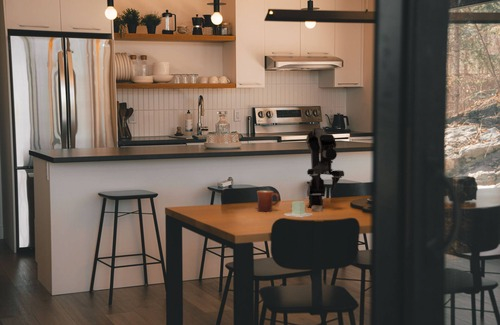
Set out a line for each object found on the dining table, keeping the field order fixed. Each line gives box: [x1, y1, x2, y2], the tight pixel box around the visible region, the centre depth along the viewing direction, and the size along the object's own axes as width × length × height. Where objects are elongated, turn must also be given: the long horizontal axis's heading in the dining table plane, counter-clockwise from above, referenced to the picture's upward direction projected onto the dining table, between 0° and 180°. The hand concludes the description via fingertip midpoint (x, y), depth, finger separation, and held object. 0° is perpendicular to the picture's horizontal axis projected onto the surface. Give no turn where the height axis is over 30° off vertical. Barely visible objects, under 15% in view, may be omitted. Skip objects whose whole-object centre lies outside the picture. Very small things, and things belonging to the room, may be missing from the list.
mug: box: [256, 190, 280, 213], centre depth 363 cm, size 12×9×10 cm
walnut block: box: [311, 205, 324, 213], centre depth 366 cm, size 5×5×3 cm
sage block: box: [291, 200, 306, 214], centre depth 351 cm, size 4×4×6 cm
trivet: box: [284, 211, 313, 218], centre depth 351 cm, size 10×10×1 cm
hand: (325, 189), depth 359 cm, fingers open, 9 cm apart
